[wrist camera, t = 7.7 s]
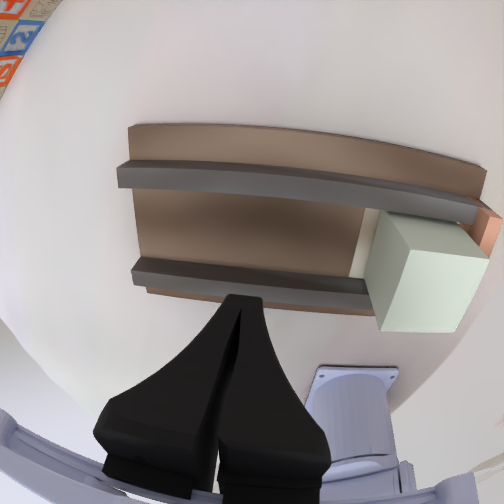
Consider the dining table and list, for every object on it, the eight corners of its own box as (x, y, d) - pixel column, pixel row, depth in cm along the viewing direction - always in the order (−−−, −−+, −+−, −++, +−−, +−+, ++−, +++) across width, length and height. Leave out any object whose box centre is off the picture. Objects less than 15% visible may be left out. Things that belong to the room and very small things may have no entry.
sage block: (428, 282, 19) (453, 332, 15) (363, 276, 19) (379, 331, 15) (451, 217, 16) (489, 259, 12) (382, 205, 17) (410, 249, 12)
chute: (428, 310, 22) (444, 346, 18) (151, 284, 23) (131, 319, 20) (479, 166, 15) (513, 187, 12) (135, 125, 17) (101, 138, 13)
